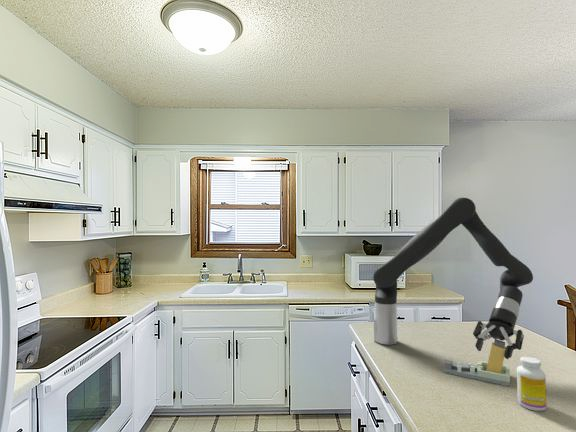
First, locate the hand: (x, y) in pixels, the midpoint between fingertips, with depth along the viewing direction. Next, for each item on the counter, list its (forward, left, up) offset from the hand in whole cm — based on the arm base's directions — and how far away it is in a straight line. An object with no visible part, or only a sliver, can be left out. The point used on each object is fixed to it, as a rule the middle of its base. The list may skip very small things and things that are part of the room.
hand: (491, 353), depth 111 cm
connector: (0, +1, -6) cm, 6 cm away
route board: (-5, +1, -8) cm, 9 cm away
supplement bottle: (+10, -14, -8) cm, 19 cm away
